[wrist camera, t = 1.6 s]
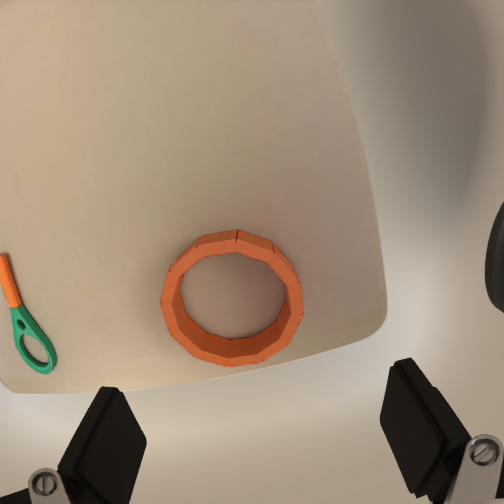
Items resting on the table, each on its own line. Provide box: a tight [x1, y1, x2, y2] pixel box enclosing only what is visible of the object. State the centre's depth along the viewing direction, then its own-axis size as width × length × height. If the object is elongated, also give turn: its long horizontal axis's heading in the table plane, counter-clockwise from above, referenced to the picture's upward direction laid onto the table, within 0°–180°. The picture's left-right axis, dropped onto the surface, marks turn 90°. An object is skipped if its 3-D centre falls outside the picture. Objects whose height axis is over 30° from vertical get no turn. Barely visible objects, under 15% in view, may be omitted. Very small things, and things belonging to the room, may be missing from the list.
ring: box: [160, 230, 303, 367], centre depth 24 cm, size 11×11×3 cm
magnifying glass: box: [0, 254, 56, 374], centre depth 26 cm, size 15×6×2 cm, turn 7°
